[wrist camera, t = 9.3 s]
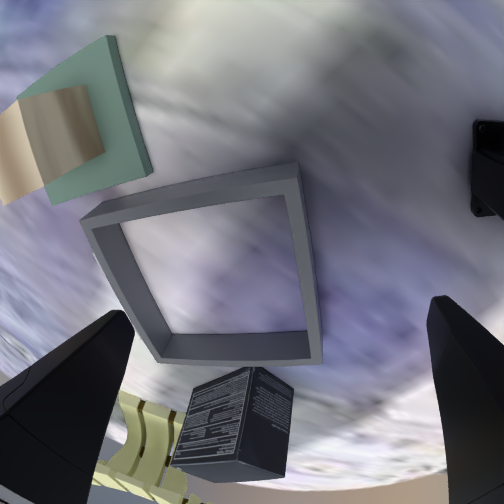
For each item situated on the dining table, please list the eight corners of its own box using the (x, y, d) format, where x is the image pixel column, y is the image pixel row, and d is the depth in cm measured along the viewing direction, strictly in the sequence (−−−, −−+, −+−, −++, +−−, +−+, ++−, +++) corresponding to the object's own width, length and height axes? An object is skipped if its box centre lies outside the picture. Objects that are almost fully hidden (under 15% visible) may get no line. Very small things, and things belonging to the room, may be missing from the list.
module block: (85, 84, 15) (17, 99, 10) (105, 152, 17) (44, 185, 12) (40, 112, 16) (-21, 135, 11) (59, 171, 19) (3, 205, 14)
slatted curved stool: (93, 410, 47) (60, 482, 32) (71, 368, 38) (21, 457, 23) (243, 460, 46) (224, 542, 31) (262, 432, 37) (239, 546, 22)
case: (298, 161, 17) (296, 177, 15) (322, 336, 24) (322, 364, 22) (96, 204, 21) (73, 222, 18) (163, 339, 28) (152, 362, 26)
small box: (232, 412, 34) (214, 485, 26) (191, 388, 33) (165, 465, 24) (297, 390, 29) (287, 481, 21) (254, 360, 28) (232, 461, 19)
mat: (114, 36, 14) (105, 35, 13) (153, 171, 19) (146, 176, 18) (25, 95, 16) (16, 97, 16) (59, 201, 21) (52, 206, 20)
